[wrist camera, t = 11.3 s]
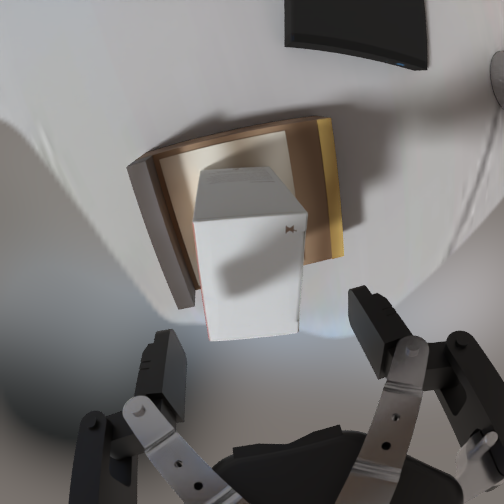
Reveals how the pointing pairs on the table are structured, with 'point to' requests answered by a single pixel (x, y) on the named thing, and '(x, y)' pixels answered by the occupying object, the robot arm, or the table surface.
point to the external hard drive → (360, 29)
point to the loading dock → (238, 156)
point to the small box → (248, 253)
